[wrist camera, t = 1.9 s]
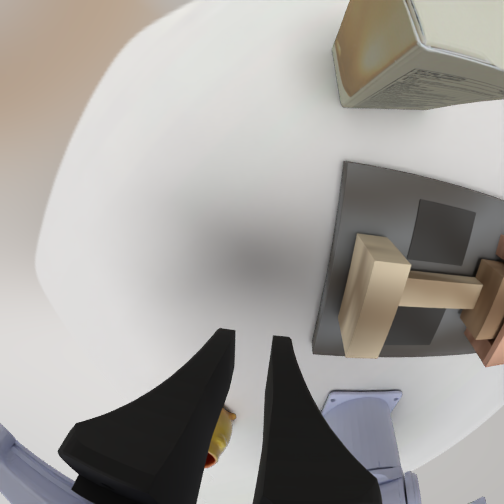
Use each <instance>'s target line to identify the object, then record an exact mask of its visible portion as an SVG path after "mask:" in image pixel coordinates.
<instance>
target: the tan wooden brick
mask: <svg viewBox="0 0 504 504" xmlns="http://www.w3.org/2000/svg"><path fill="white" fill-rule="evenodd" d="M410 268H411V264H410V263H409V262H408V260H407V259H406V258H405V257H404V256H403V255H402V253H401V252H400V251H399V250H398V249H397V248H396V247H395V245H394V244H393V243H392V242H391V241H390V240H389V239H388V238H387V237H381V236H374V235H366V234H359V233H357V236H356V241H355V246H354V251H353V256H352V261H351V265H350V270H349V275H348V279H347V283H346V287H345V292H344V296H343V300H342V304H341V308H340V311H339V315H338V321H339V326H340V330H341V336H342V341H343V346H344V351H345V357H346V358H374V359H377V358H378V356H379V354H380V352H381V349H382V347H383V345H384V342H385V340H386V337H387V335H388V332H389V330H390V327H391V325H392V322H393V319H394V317H395V314H396V311H397V308H398V306H408V307H427V308H452V309H463V310H462V312H461V315H460V319H461V320H462V321H463V323H464V324H465V326H466V327H467V328H468V330H469V331H470V333H471V334H472V335H473V337H474V338H475V340H483V339H496V338H497V336H498V334H499V332H500V330H501V328H502V326H503V324H504V262H498V261H492V260H486V259H481V262H480V265H479V268H478V271H477V274H476V277H466V276H457V275H447V274H438V273H429V272H419V271H410Z"/></svg>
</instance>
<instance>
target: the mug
mask: <svg viewBox="0 0 504 504" xmlns="http://www.w3.org/2000/svg"><path fill="white" fill-rule="evenodd" d="M234 419H236V415H235V414H234V413H231V412H228V411H226V410H225V409H224V408H222V411H221V413H220V416H219V419H218V422H217V424H216V427H215V430H214V433H213V436H212V439H211V442H210V446H209V450H208V454H207V458H206V463H205V467H204V468H209V467H212V466H213V465H215V464H216V463H217V462H218V459H219V457H220V456H221V454H222V453H223V452H224V450H225V449H226V447H227V446H228V444H229V441H230V438H231V434H232V421H233V420H234Z"/></svg>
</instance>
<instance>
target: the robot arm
mask: <svg viewBox="0 0 504 504" xmlns="http://www.w3.org/2000/svg"><path fill="white" fill-rule="evenodd" d="M234 360H235V330H229V329H222V328H219V329H218V330H217V331H216V332H215V333H214V335H213V336H212V337H211V338H210V339H209V340H208V342H207V343H206V344H205V345H204V346H203V347H202V348H201V349H200V350H199V351H198V352H197V353H196V354H195V355H194V356H193V357H192V358H191V359H190V360H189V361H188V362H187V363H186V364H185V365H184V366H182V367H181V368H180V369H179V370H178V371H177V372H175V373H174V374H173V375H172V376H171V377H169V378H168V379H167V380H165V381H164V382H163V383H161V384H160V385H159V386H157V387H156V388H154V389H153V390H151V391H150V392H148V393H146V394H145V395H143V396H141V397H140V398H138V399H136V400H134V401H133V402H131V403H129V404H127V405H124V406H122V407H120V408H118V409H116V410H114V411H111V412H109V413H107V414H104V415H101V416H98V417H95V418H92V419H89V420H86V421H83V422H79V423H76V424H75V426H74V427H73V428H72V429H71V430H70V432H69V433H68V435H67V437H66V438H65V440H64V441H63V443H62V445H61V446H60V448H59V450H58V454H59V456H60V457H61V458H62V459H63V460H64V461H65V462H66V463H67V464H68V465H69V466H70V467H71V468H72V469H73V470H75V471H76V472H77V473H78V474H79V476H78V477H77V479H76V481H73V480H72V479H70V478H68V477H66V476H65V475H63V474H62V473H60V472H59V471H57V470H56V469H54V468H53V467H51V466H50V465H48V464H47V463H45V462H44V461H42V460H41V459H40V458H38V457H37V456H36V455H34V454H33V453H32V452H31V451H29V450H28V449H27V448H25V447H24V446H23V445H22V444H20V443H19V442H18V441H17V440H16V439H15V437H14V436H13V435H12V434H11V433H10V432H9V431H8V430H7V429H6V428H5V427H4V426H3V425H1V424H0V492H1V493H2V494H3V495H4V496H5V497H6V499H7V500H8V501H9V502H10V503H11V504H196V502H197V498H198V493H199V489H200V484H201V480H202V475H203V471H204V467H205V463H206V458H207V454H208V450H209V446H210V442H211V439H212V436H213V433H214V430H215V427H216V424H217V422H218V419H219V416H220V413H221V411H222V408H223V405H224V402H225V400H226V397H227V394H228V391H229V388H230V384H231V380H232V375H233V370H234ZM401 397H402V392H401V391H384V392H331V393H330V394H329V396H328V399H327V401H326V403H325V406H324V408H323V410H322V412H320V410H319V409H318V407H317V405H316V403H315V402H314V400H313V398H312V396H311V394H310V392H309V390H308V388H307V385H306V383H305V381H304V378H303V376H302V374H301V371H300V369H299V366H298V363H297V360H296V357H295V353H294V350H293V345H292V340H291V339H290V337H283V336H274V335H273V341H272V348H271V355H270V362H269V368H268V375H267V382H266V389H265V404H264V429H263V445H262V453H261V459H260V465H259V471H258V477H257V483H256V488H255V494H254V499H253V504H422V503H421V497H420V490H419V484H418V478H417V475H416V474H415V473H412V472H411V471H408V472H406V473H405V477H404V474H403V471H402V468H401V463H400V458H399V452H398V447H397V442H396V437H395V432H394V428H393V423H392V419H391V414H390V413H391V412H392V410H393V409H394V407H395V406H396V404H397V403H398V401H399V400H400V398H401ZM468 504H486V500H485V497H481V498H479V499H477V500H475V501H473V502H471V503H468Z"/></svg>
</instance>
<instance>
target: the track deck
mask: <svg viewBox="0 0 504 504" xmlns="http://www.w3.org/2000/svg"><path fill="white" fill-rule="evenodd" d="M357 233H359V234H366V235H374V236H381V237H387V238H388V239H389V240H390V241H391V242H392V243H393V244H394V245H395V247H396V248H397V249H398V250H399V251H400V252H401V253H402V255H403V256H404V257H405V258H406V259H407V260H408V262H409V263H410V264H411V268H410V271H419V272H429V273H438V274H447V275H457V276H466V277H476V274H477V271H478V268H479V265H480V262H481V259H486V260H492V261H498V262H504V200H501V199H498V198H495V197H492V196H489V195H486V194H483V193H480V192H477V191H474V190H471V189H467V188H464V187H461V186H457V185H454V184H450V183H447V182H443V181H439V180H435V179H431V178H427V177H423V176H419V175H415V174H410V173H406V172H401V171H397V170H392V169H387V168H382V167H376V166H371V165H365V164H359V163H353V162H347V161H344V163H343V172H342V181H341V189H340V197H339V204H338V211H337V218H336V225H335V231H334V237H333V243H332V249H331V255H330V260H329V266H328V271H327V276H326V281H325V286H324V291H323V296H322V301H321V305H320V310H319V314H318V319H317V323H316V327H315V332H314V336H313V340H312V351H313V354H318V355H333V356H345V351H344V346H343V341H342V336H341V330H340V326H339V321H338V315H339V311H340V308H341V304H342V300H343V296H344V292H345V287H346V283H347V279H348V275H349V270H350V265H351V261H352V256H353V251H354V246H355V241H356V236H357ZM462 310H463V309H452V308H427V307H408V306H398V308H397V311H396V314H395V317H394V319H393V322H392V325H391V327H390V330H389V332H388V335H387V337H386V340H385V342H384V345H383V347H382V349H381V352H380V354H379V356H378V357H427V356H447V355H461V354H472V353H477V354H478V356H479V358H480V359H481V361H482V362H483V364H484V366H485V367H490V366H495V365H501V364H504V324H503V326H502V328H501V330H500V332H499V334H498V336H497V338H496V339H483V340H475V338H474V337H473V335H472V334H471V333H470V331H469V330H468V328H467V327H466V326H465V324H464V323H463V321H462V320H461V319H460V315H461V312H462Z"/></svg>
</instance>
